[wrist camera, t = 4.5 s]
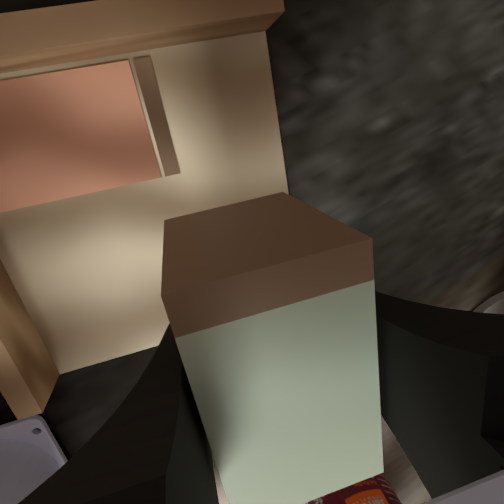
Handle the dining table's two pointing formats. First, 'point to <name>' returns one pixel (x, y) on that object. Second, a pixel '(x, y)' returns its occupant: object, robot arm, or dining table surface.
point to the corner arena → (118, 167)
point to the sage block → (277, 345)
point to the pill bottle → (362, 493)
